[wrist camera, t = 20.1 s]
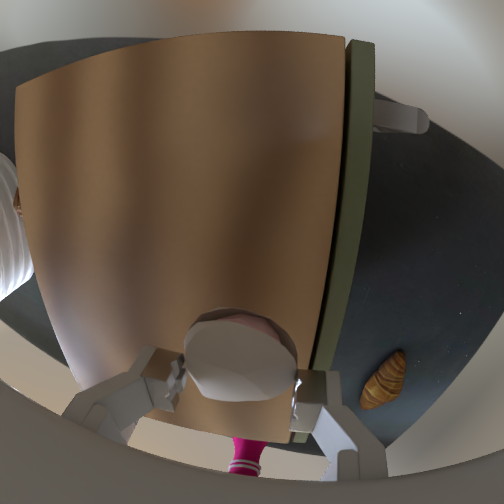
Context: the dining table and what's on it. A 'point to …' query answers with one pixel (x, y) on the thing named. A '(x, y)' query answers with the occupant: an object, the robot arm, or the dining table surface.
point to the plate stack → (11, 234)
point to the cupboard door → (354, 190)
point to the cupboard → (183, 200)
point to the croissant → (384, 382)
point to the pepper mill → (246, 457)
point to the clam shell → (239, 355)
